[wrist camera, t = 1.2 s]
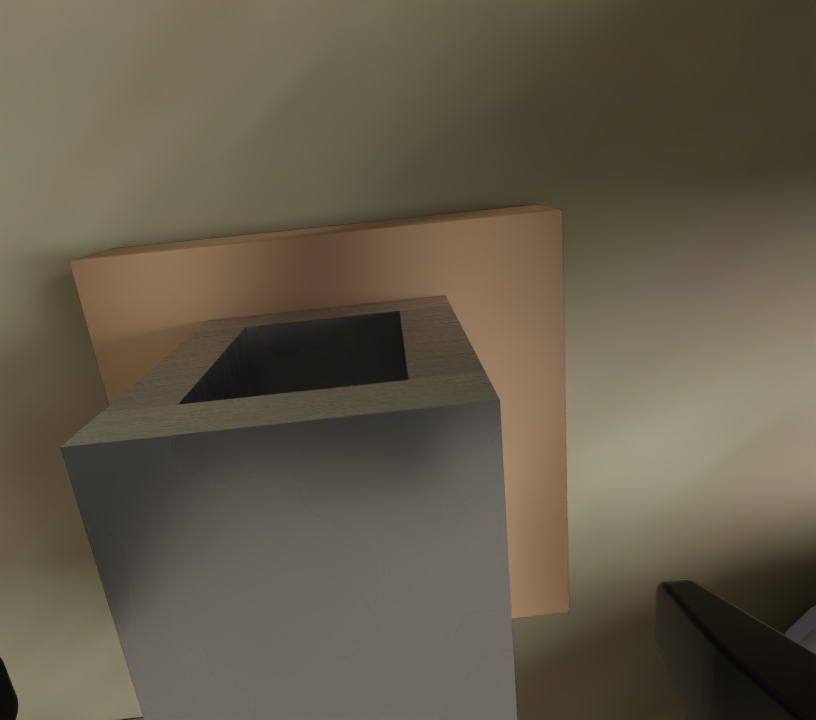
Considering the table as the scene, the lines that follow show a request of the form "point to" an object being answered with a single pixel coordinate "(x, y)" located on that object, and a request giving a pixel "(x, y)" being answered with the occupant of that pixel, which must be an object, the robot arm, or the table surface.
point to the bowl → (804, 630)
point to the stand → (368, 283)
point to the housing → (307, 520)
